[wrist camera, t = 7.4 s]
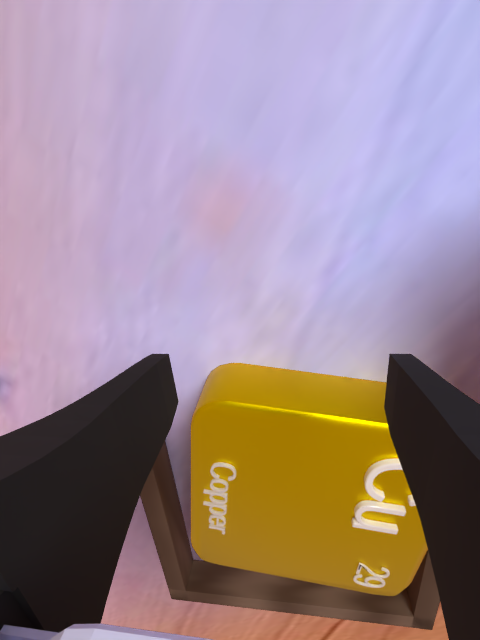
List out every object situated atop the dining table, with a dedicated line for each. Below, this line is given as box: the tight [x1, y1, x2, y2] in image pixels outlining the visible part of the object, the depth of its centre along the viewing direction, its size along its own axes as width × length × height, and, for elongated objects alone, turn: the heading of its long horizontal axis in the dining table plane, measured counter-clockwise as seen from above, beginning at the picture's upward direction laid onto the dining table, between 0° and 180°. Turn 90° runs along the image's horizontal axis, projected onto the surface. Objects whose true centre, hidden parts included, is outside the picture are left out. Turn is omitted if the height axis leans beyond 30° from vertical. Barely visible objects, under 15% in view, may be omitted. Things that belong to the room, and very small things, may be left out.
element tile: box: [191, 363, 428, 596], centre depth 23 cm, size 15×15×5 cm
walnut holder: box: [140, 441, 440, 630], centre depth 27 cm, size 21×16×2 cm
